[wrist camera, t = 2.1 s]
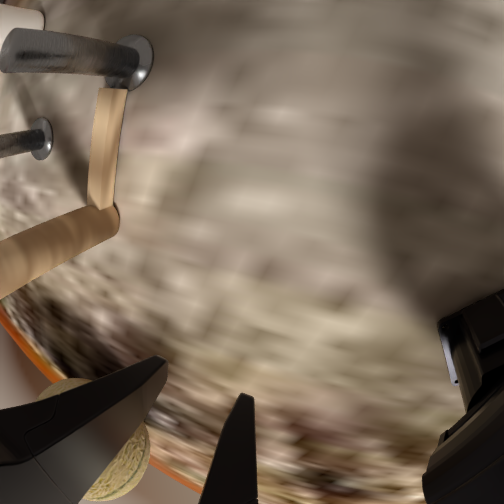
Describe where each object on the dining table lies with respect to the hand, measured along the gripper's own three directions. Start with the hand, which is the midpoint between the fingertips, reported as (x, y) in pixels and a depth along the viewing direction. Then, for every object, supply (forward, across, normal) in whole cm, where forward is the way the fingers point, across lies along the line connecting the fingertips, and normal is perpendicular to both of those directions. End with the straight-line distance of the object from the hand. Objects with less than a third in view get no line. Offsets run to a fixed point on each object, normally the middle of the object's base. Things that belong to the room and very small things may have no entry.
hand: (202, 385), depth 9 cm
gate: (+12, +14, -2) cm, 18 cm away
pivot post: (+12, +14, -10) cm, 21 cm away
